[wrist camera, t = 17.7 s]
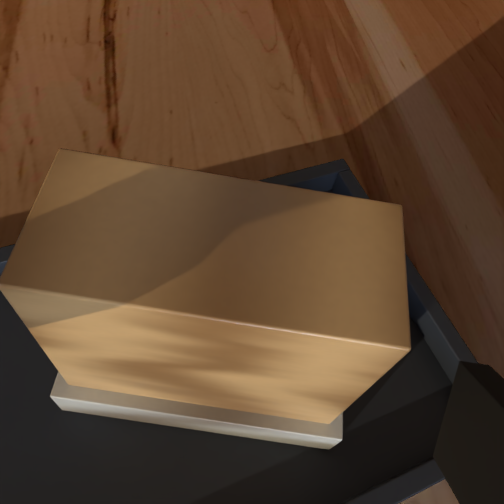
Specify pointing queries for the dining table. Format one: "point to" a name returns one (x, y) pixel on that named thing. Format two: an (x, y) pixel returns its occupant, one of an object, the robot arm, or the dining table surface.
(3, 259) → the tray
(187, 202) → the eraser
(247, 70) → the dining table surface
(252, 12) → the dining table surface
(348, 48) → the dining table surface
